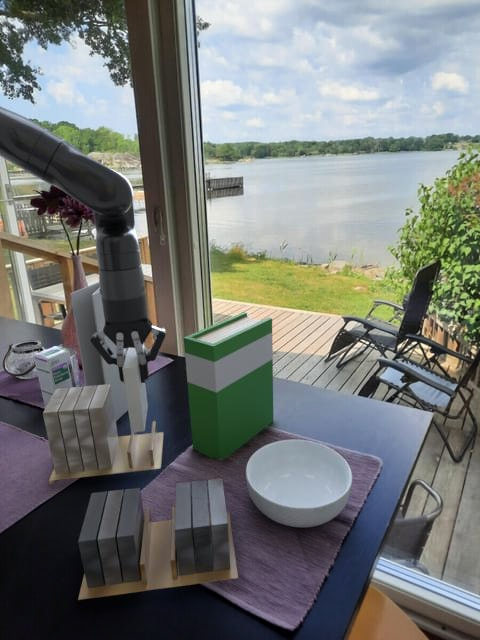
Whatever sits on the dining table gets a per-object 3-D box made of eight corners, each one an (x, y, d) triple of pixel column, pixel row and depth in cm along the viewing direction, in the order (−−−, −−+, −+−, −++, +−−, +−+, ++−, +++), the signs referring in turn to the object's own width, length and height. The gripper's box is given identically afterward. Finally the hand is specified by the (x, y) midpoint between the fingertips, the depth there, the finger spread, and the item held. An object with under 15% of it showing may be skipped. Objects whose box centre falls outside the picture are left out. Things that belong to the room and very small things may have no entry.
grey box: (112, 424, 98) (92, 295, 88) (91, 421, 100) (69, 293, 90) (144, 394, 111) (131, 278, 101) (125, 391, 112) (110, 277, 102)
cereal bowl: (244, 544, 66) (243, 506, 63) (248, 471, 81) (247, 438, 79) (360, 546, 65) (362, 507, 62) (341, 471, 80) (342, 438, 78)
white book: (131, 432, 80) (122, 368, 76) (135, 407, 89) (128, 348, 84) (144, 431, 80) (136, 366, 76) (147, 406, 89) (140, 347, 85)
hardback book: (247, 411, 102) (243, 312, 94) (273, 421, 97) (272, 318, 89) (193, 448, 89) (183, 337, 81) (220, 462, 84) (213, 346, 76)
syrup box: (59, 415, 103) (48, 358, 98) (44, 408, 106) (32, 353, 101) (79, 404, 107) (70, 349, 102) (64, 398, 110) (54, 344, 106)
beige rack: (49, 485, 80) (35, 417, 75) (66, 445, 91) (54, 385, 86) (161, 472, 82) (153, 406, 77) (163, 436, 93) (157, 376, 89)
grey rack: (79, 605, 57) (67, 552, 55) (95, 533, 69) (87, 486, 66) (238, 583, 60) (236, 531, 57) (229, 517, 71) (227, 471, 68)
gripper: (164, 284, 80) (173, 369, 86) (86, 289, 79) (100, 376, 85) (163, 295, 73) (172, 387, 79) (77, 301, 72) (92, 395, 78)
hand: (135, 381), depth 82 cm, fingers closed on white book, 2 cm apart
